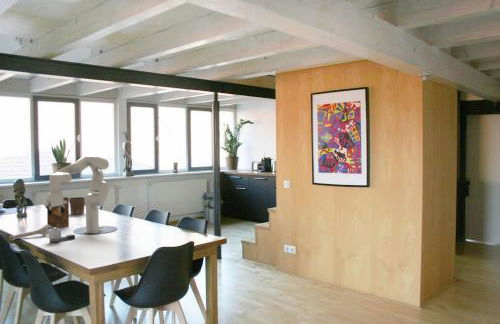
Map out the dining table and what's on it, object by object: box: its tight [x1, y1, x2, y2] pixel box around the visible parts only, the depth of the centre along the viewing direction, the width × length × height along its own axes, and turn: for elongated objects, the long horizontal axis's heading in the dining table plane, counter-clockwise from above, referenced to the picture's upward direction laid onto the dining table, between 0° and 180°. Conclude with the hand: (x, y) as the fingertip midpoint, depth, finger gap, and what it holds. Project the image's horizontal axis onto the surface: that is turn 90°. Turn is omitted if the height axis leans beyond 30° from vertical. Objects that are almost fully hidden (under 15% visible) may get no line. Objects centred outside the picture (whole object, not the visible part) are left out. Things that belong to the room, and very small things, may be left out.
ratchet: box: [49, 234, 76, 244], centre depth 311 cm, size 18×7×8 cm, turn 147°
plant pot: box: [68, 196, 86, 216], centre depth 425 cm, size 16×16×16 cm
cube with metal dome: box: [48, 227, 62, 240], centre depth 306 cm, size 6×6×8 cm
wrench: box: [8, 224, 52, 241], centre depth 321 cm, size 8×2×30 cm
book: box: [46, 196, 70, 229], centre depth 359 cm, size 16×6×25 cm, turn 129°
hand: (56, 213), depth 307 cm, fingers open, 9 cm apart
